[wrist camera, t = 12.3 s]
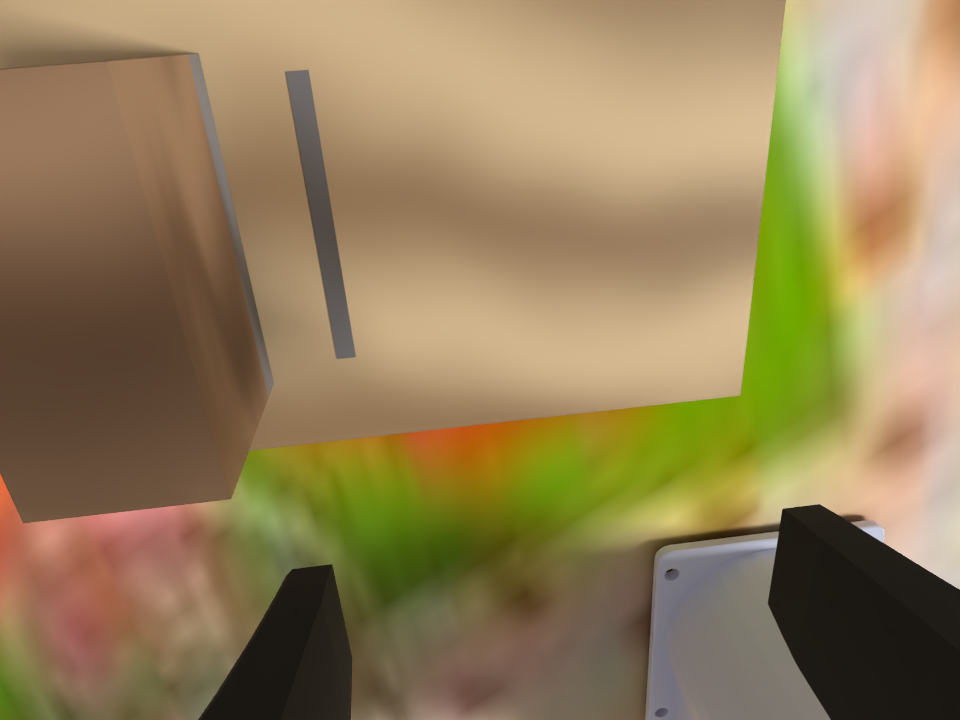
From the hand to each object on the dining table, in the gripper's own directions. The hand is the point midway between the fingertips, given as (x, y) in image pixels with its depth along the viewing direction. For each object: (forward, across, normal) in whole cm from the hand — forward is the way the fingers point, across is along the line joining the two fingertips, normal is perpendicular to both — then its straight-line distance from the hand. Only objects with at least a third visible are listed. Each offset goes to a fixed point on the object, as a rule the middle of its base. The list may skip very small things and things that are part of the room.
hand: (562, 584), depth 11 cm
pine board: (+9, +3, -4) cm, 11 cm away
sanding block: (+8, +8, -4) cm, 12 cm away
